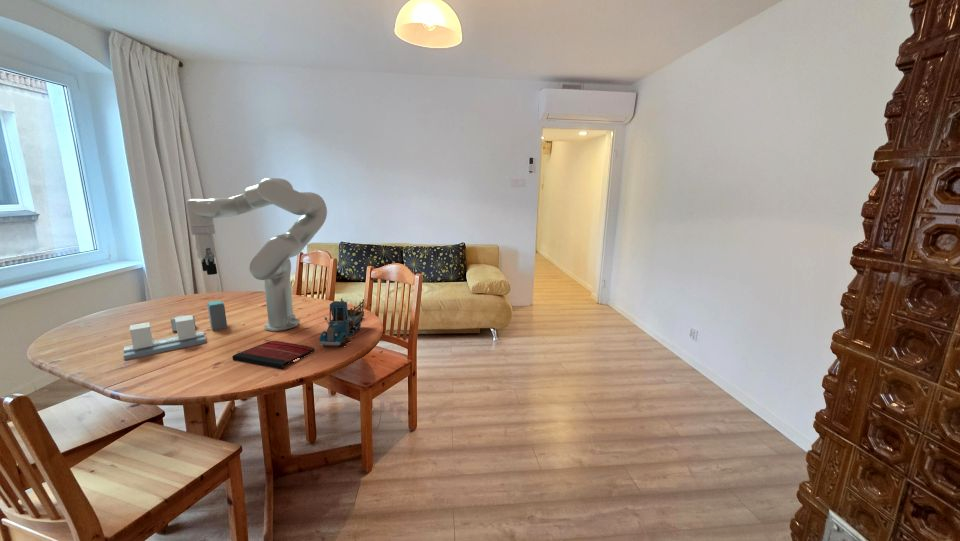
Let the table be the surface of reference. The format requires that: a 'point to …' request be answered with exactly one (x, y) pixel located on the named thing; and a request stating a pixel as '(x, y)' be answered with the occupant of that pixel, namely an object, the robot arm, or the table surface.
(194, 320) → the power supply
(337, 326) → the toy truck
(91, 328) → the table surface
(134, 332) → the mounted modules
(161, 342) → the din rail
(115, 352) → the table surface
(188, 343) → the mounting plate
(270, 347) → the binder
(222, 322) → the block
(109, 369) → the table surface
